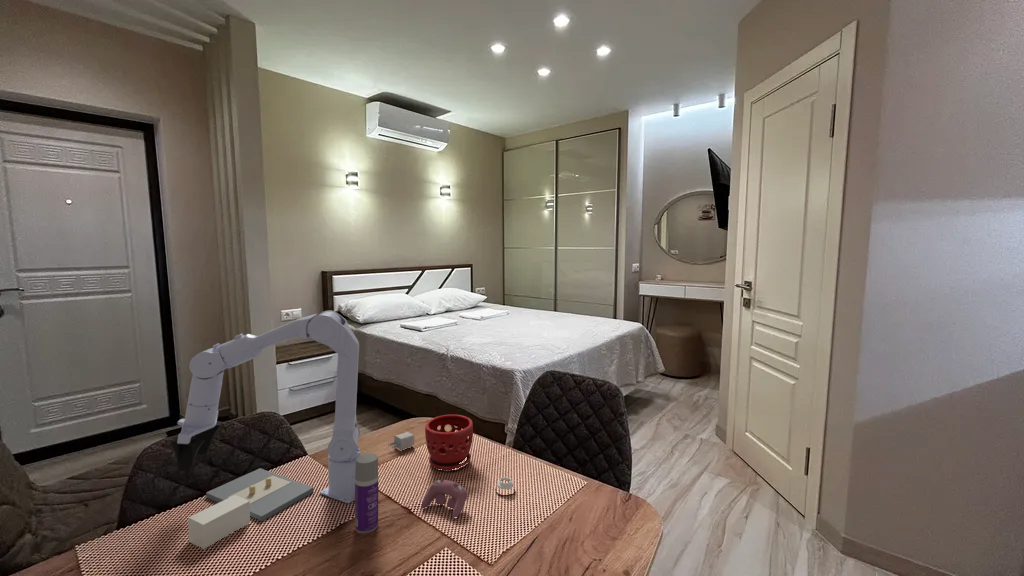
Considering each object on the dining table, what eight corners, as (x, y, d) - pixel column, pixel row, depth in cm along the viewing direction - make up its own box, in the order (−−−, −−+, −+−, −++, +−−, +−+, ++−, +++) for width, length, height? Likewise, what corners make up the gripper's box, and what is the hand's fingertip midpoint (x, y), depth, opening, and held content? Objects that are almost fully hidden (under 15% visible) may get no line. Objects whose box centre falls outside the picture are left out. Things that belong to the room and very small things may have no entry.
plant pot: (433, 451, 124) (434, 412, 123) (476, 455, 122) (477, 415, 121) (417, 473, 111) (418, 429, 110) (465, 478, 109) (466, 433, 109)
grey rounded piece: (514, 498, 101) (515, 487, 106) (514, 486, 101) (516, 475, 106) (493, 496, 101) (496, 485, 106) (493, 484, 101) (496, 474, 106)
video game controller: (465, 519, 94) (472, 486, 97) (455, 520, 91) (463, 485, 93) (429, 507, 99) (437, 476, 101) (418, 508, 95) (426, 475, 97)
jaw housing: (250, 523, 89) (249, 500, 88) (203, 549, 81) (203, 524, 80) (235, 517, 91) (235, 494, 90) (189, 541, 83) (188, 517, 82)
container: (370, 535, 86) (371, 464, 85) (350, 531, 87) (350, 461, 86) (382, 521, 90) (382, 454, 90) (362, 518, 91) (362, 451, 90)
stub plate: (313, 492, 101) (313, 480, 101) (261, 521, 89) (261, 508, 89) (260, 472, 110) (259, 461, 109) (206, 497, 98) (205, 485, 98)
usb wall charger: (414, 447, 126) (414, 435, 126) (393, 455, 121) (393, 441, 121) (406, 443, 129) (406, 431, 129) (386, 450, 124) (386, 437, 124)
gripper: (198, 390, 99) (188, 446, 99) (164, 412, 85) (153, 477, 85) (231, 393, 101) (222, 448, 101) (204, 415, 87) (193, 478, 87)
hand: (193, 461), depth 93 cm, fingers open, 7 cm apart
